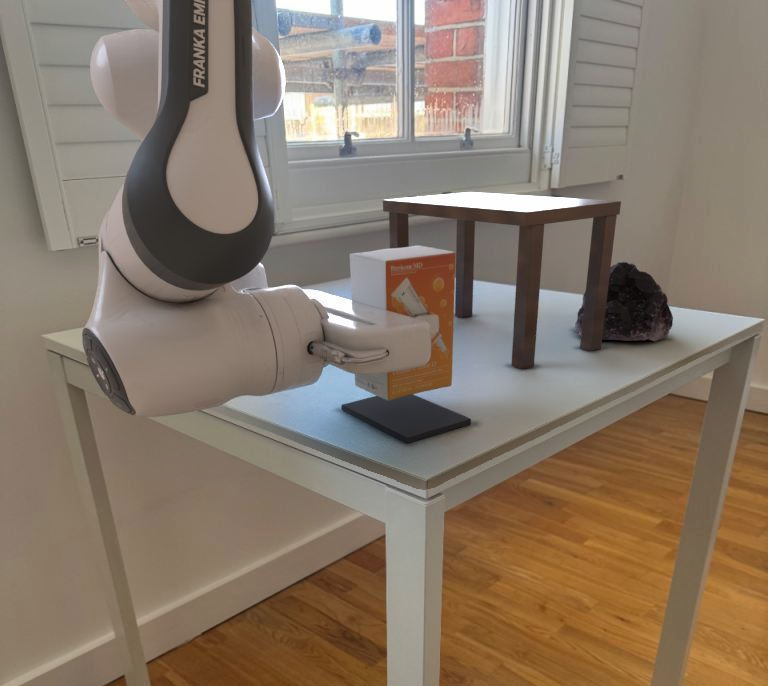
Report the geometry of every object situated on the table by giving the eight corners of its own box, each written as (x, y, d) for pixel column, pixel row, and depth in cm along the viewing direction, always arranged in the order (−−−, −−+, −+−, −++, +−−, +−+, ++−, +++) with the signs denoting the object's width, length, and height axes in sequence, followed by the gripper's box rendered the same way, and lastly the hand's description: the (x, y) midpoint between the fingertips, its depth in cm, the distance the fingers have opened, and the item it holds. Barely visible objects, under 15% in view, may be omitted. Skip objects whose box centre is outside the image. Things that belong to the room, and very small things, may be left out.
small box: (388, 402, 67) (384, 260, 61) (353, 386, 72) (347, 252, 66) (454, 386, 71) (457, 250, 65) (417, 371, 76) (417, 243, 69)
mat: (341, 409, 75) (341, 404, 75) (401, 394, 79) (401, 389, 79) (407, 443, 67) (407, 437, 66) (471, 424, 70) (471, 418, 70)
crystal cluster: (643, 356, 92) (664, 278, 87) (551, 333, 99) (566, 259, 94) (679, 342, 101) (700, 270, 96) (593, 322, 108) (608, 254, 103)
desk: (386, 329, 106) (382, 199, 98) (466, 313, 114) (469, 192, 105) (516, 371, 86) (526, 212, 77) (603, 347, 93) (621, 201, 85)
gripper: (344, 323, 52) (482, 298, 59) (232, 286, 67) (352, 269, 74) (348, 403, 55) (479, 370, 62) (240, 351, 70) (355, 329, 77)
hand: (409, 315), depth 68 cm, fingers closed on small box, 6 cm apart
